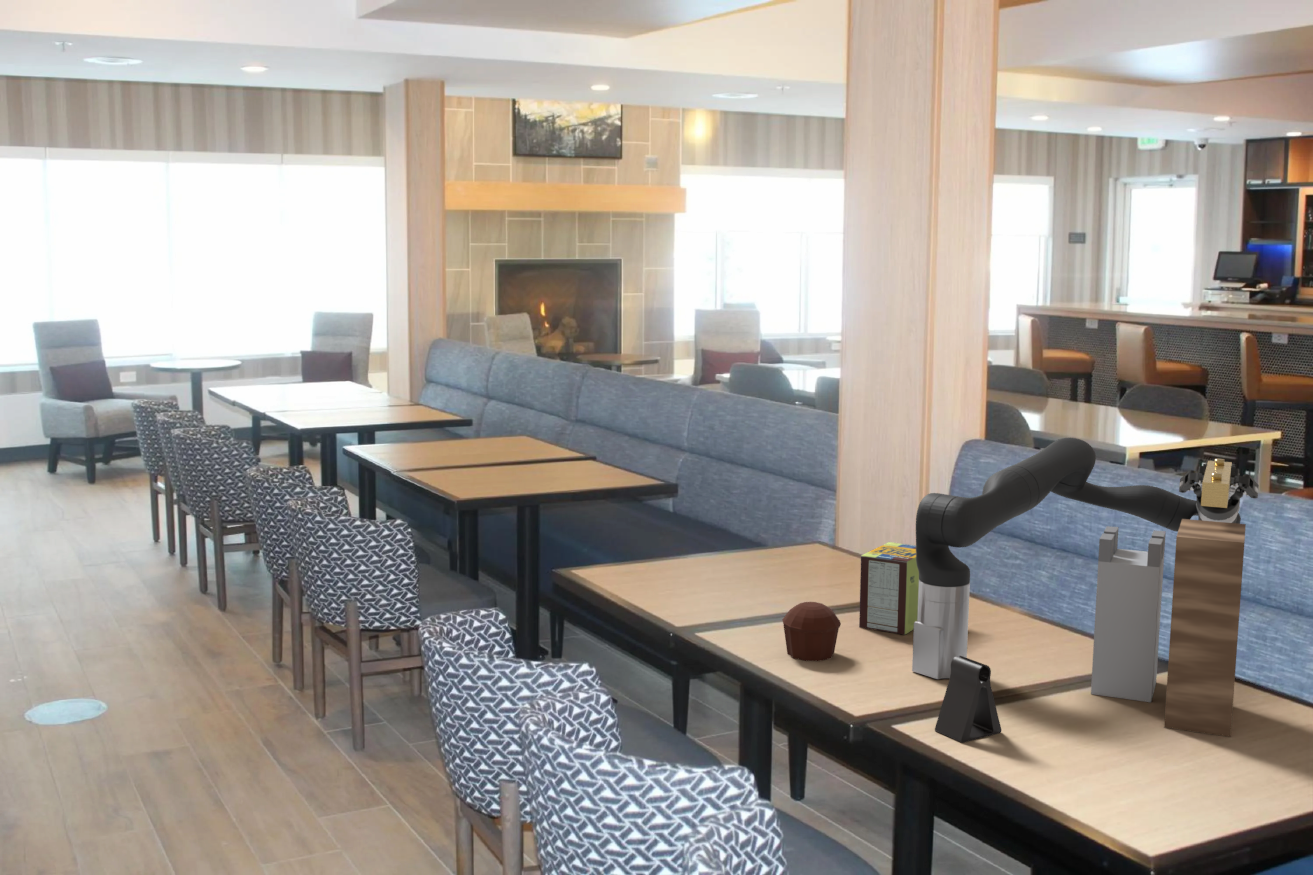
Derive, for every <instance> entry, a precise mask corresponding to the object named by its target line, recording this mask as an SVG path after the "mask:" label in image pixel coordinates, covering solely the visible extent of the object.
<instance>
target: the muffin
mask: <svg viewBox="0 0 1313 875" xmlns="http://www.w3.org/2000/svg"><path fill="white" fill-rule="evenodd" d="M781 620H782V624H783V630H784V631H783V632H784V637H785V647H786V654H787V655H788V656H790V657H791V658H792V659H794V660H800V661H804V662H823V661H826V660H831V659H832V657H833V656H834V655H835V650H836V645H837V639H838V634H839V628H840V627H841V624H842V623H841V620H840V619H839V617H838V616H837V615H836V613H835V612H834V610H833V609H831V608H830V607H829V606H827V605H826V604H825V603H821V602H816V601H804V602H800V603H798V604H796V605H794V606H793V607H791V608H790V609H789V610H788V611H787V613H786V614H785V616H784V617H782V619H781Z"/></svg>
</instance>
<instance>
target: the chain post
mask: <svg viewBox="0 0 1313 875" xmlns="http://www.w3.org/2000/svg"><path fill="white" fill-rule="evenodd" d="M1098 540H1099V543H1098V544H1099V545H1098V561H1097V562H1098V563H1097V574H1096V575H1097V577H1096V578H1097V580H1096V593H1095V594H1096V596H1095V597H1096V599H1095V611H1094V612H1095V614H1094V628H1093V629H1094V630H1093V650H1092V651H1093V652H1092V667H1091V668H1092V669H1091V685H1090V694H1091V695H1094V696H1095V695H1097V696H1103V697H1110V698H1116V699H1122V700H1123V699H1125V700H1131V701H1138V702H1139V701H1140V702H1146V703H1147V702H1148V703H1152V700H1153V697H1154V692H1155V689H1156V685H1157V676H1158V675H1157V674H1158V660H1159V642H1160V629H1161V627H1160V626H1161V612H1162V611H1161V610H1162V596H1163V584H1164V583H1163V581H1164V580H1163V579H1164V566H1165V565H1164V563H1165V548H1166V547H1165V546H1166V531H1165V530H1156V529H1155V530H1154V529H1153V531H1152V534H1151V537H1150V539H1149V541H1148V547H1147V551H1143V550H1135V549H1124V548H1123V549H1122V548H1118V543H1119V542H1118V541H1119V527H1118V526H1111V525H1110V526H1109V525H1106V526H1105V529H1104V530H1103V532H1102V534H1101V536H1100V537H1099V539H1098Z"/></svg>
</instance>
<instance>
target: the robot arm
mask: <svg viewBox="0 0 1313 875" xmlns="http://www.w3.org/2000/svg"><path fill="white" fill-rule="evenodd" d="M1096 460H1097V456H1096V452H1095V449H1094V448H1093V446H1092V445H1090V444H1089V443H1088V442H1087V441H1085V440H1083V439H1079V438H1076V437H1062V438H1058V439H1057V440H1054V441H1053V442H1052V443H1050V444H1048V446H1046V447H1045V448H1044V449H1042V450H1040V451H1039V452H1037V453H1035V454H1033V455H1031V456H1029V457H1027V458H1025V459H1023V460H1021V461H1019V462H1017V463H1015V464H1013V465H1011V466H1008V467H1005V468H1003V469H1001V470H999V471H997V472H995V473H993V474H992V475H991V476H989V477H988V478H987V479H986V481H985V483H984V485H983V486H982V487H983V488H982V494H981V495H977V496H973V497H965V496H959V495H952V494H951V495H950V494H944V493H939V492H932V493H931V492H930V493H928V494H926V495H925V496H923V498H922V499H921V500H920V502H919V504H918V507H917V511H916V514H915V515H916V516H915V546H916V563H917V567H918V571H919V589H918V615H917V621H916V622H914V629H913V632H912V633H913V638H912V660H911V661H912V664H911V665H912V666H911V667H912V669H911V671H912V672H913V673H916V674H920V675H924V676H926V677H929V678H932V679H935V680H941V679H950V675H951V662H952V660H953V658H954V657H955V656H956V657H959V656H963V657H965V658H968V657H967V656H968V638H969V636H968V635H969V634H968V633H969V610H970V589H971V588H970V587H971V569H970V567H969V566H968V565H967V564H966V563H964V562H963V561H961V560H960V559H959V558H958V557H957V556H955V555H954V554H953V552H952V550H950V548H949V547H952V548H967V547H969V546H972V545H973V544H975V543H977V542H978V541H980V540H981V539H983V538H984V537H985V536H986V535H987V534H989V533H991V531H993V530H995V529H996V528H997V527H999V526H1001V525H1003V524H1005V523H1007V522H1008V521H1010V520H1012V519H1014V518H1016V517H1018V516H1021V515H1022V514H1024V513H1027V512H1028V511H1030V510H1032V509H1033V508H1036V507H1037V505H1038V506H1039V505H1040V503H1041V502H1043V500H1044V499H1045V498H1046V497H1047V496H1049V494H1050V493H1052V494H1054V495H1058V496H1060V497H1064V498H1066V499H1070V500H1074V501H1077V502H1080V503H1085V504H1089V505H1093V506H1097V507H1101V508H1105V509H1109V510H1112V511H1113V510H1114V511H1118V512H1121V513H1124V514H1128V515H1132V516H1135V517H1137V518H1139V519H1140V518H1141V519H1144V520H1145V521H1148V522H1150V523H1152V524H1156V525H1157V526H1160V527H1163V528H1165V529H1167V530H1170V531H1172V532H1177V533H1178V530H1179V527H1180V524H1181V521H1182V519H1190V520H1192V518H1193V517H1196V516H1197V517H1198V519H1197V520H1202V521H1214V522H1226V523H1238V524H1241V520H1242V519H1241V514H1240V513H1239V511H1240V509H1241V506H1240V503H1241V499H1242V498H1243V496H1245V495H1246V497H1250V498H1251V499H1253V500H1255V499H1259V484H1258V483H1257V481H1256V480H1255V479H1254V478H1253V477H1252V476H1251V475H1250V474H1246V473H1245V474H1243V475H1240V469H1239V468H1236V466H1235V465H1232V466H1231V477H1230V490H1229V497H1228V505H1227V508H1221V507H1209V506H1201V497H1202V483H1203V479H1204V475H1205V471H1206V467H1207V463H1203V464H1202V465H1199V466H1198V470H1197V472H1196V470H1192V469H1191V470H1188V471H1187V472H1186V473H1185V474H1184V475H1183V476H1182V477H1181V478H1179V488H1178V492H1179V493H1181V494H1185V493H1187V492H1190V491H1193V493H1194V495H1196V499H1190V498H1187V497H1183V496H1181V495H1179V494H1175V493H1173V492H1171V491H1169V490H1166V489H1164V488H1160V487H1157V486H1154V485H1148V484H1147V485H1145V484H1139V485H1125V486H1104V485H1103V486H1102V485H1098V484H1094V483H1090V482H1089V481H1087V480H1088V479H1089V477H1090V475H1091V473H1092V472H1093V469H1094V468H1095V465H1096ZM959 658H960V657H959Z"/></svg>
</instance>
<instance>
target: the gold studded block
mask: <svg viewBox="0 0 1313 875" xmlns="http://www.w3.org/2000/svg"><path fill="white" fill-rule="evenodd" d="M1206 464H1207V467H1206V471H1205V475H1204V479H1203V483H1202V497H1201V506H1209V507H1221V508H1227V505H1228V497H1229V490H1230V477H1231V466H1233V465H1232V464H1233V463H1232V461H1225V459H1224V458H1214V460H1207V463H1206Z"/></svg>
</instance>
